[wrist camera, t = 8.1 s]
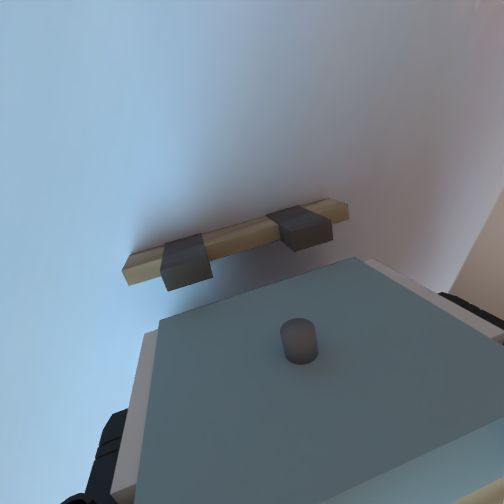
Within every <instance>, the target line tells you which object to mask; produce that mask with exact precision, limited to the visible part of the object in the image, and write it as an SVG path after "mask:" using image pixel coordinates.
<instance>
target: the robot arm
mask: <svg viewBox="0 0 504 504" xmlns="http://www.w3.org/2000/svg"><path fill="white" fill-rule="evenodd" d="M363 262H364V263H366V264H367V265H369V266H371V267H372V268H374V269H376V270H377V271H379V272H381V273H382V274H384V275H386V276H387V277H389V278H391V279H392V280H394V281H396V282H397V283H399V284H401V285H402V286H404V287H406V288H407V289H409V290H411V291H412V292H414V293H416V294H417V295H419V296H421V297H422V298H424V299H426V300H427V301H429V302H431V303H432V304H434V305H436V306H437V307H439V308H441V309H442V310H444V311H446V312H447V313H449V314H451V315H452V316H454V317H456V318H457V319H459V320H461V321H462V322H464V323H466V324H467V325H469V326H471V327H472V328H474V329H476V330H477V331H479V332H481V333H482V334H484V335H486V336H487V337H489V338H491V339H492V340H494V341H496V342H498V343H499V344H501V345H503V346H504V321H503V320H501V319H499V318H497V317H495V316H494V315H492V314H490V313H488V312H486V311H484V310H480V309H479V308H478V307H476V306H474V305H472V304H469V303H468V302H467V301H465V300H463V299H461V298H459V297H457V296H454V295H450V294H447V293H444V292H441V293H438V294H437V293H435V292H433V291H431V290H429V289H428V288H426V287H424V286H422V285H420V284H419V283H417V282H415V281H413V280H411V279H409V278H408V277H406V276H404V275H402V274H400V273H399V272H397V271H395V270H393V269H391V268H389V267H388V266H386V265H384V264H382V263H380V262H379V261H377V260H375V259H373V258H372V259H369V260H366V261H363ZM157 335H158V329H157V330H154V331H151V332H148V333H145V334H144V338H143V342H142V347H141V352H140V356H139V361H138V366H137V370H136V375H135V380H134V384H133V389H132V394H131V398H130V403H129V408H128V409H125V410H122V411H119V412H117V413H114V414H112V416H111V417H110V419H109V421H108V422H107V424H106V426H105V427H104V429H103V432H102V435H101V439H100V442H99V447H98V449H97V453H96V456H95V461H94V463H93V466H92V470H91V473H90V477H89V480H88V484H87V487H86V491H85V493H78V494H76V495H73V496H71V497H69V498H68V499H66V500H65V501H64V502H62V503H61V504H134V499H135V491H136V484H137V477H138V470H139V463H140V456H141V449H142V442H143V435H144V427H145V420H146V413H147V406H148V399H149V392H150V385H151V378H152V371H153V364H154V356H155V349H156V342H157Z"/></svg>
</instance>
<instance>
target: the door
mask: <svg viewBox="0 0 504 504" xmlns="http://www.w3.org/2000/svg"><path fill="white" fill-rule="evenodd" d="M502 477H504V346H503V345H501V344H499V343H498V342H496V341H494V340H492V339H491V338H489V337H487V336H486V335H484V334H482V333H481V332H479V331H477V330H476V329H474V328H472V327H471V326H469V325H467V324H466V323H464V322H462V321H461V320H459V319H457V318H456V317H454V316H452V315H451V314H449V313H447V312H446V311H444V310H442V309H441V308H439V307H437V306H436V305H434V304H432V303H431V302H429V301H427V300H426V299H424V298H422V297H421V296H419V295H417V294H416V293H414V292H412V291H411V290H409V289H407V288H406V287H404V286H402V285H401V284H399V283H397V282H396V281H394V280H392V279H391V278H389V277H387V276H386V275H384V274H382V273H381V272H379V271H377V270H376V269H374V268H372V267H371V266H369V265H367V264H366V263H364V262H362V261H361V260H359V259H357V258H356V257H353V258H349V259H346V260H343V261H340V262H337V263H334V264H331V265H328V266H325V267H322V268H319V269H316V270H313V271H309V272H306V273H303V274H300V275H297V276H294V277H291V278H288V279H285V280H282V281H279V282H276V283H273V284H270V285H266V286H263V287H260V288H257V289H254V290H251V291H248V292H245V293H242V294H239V295H236V296H233V297H230V298H226V299H223V300H220V301H217V302H214V303H211V304H208V305H205V306H202V307H199V308H196V309H193V310H190V311H187V312H183V313H180V314H177V315H174V316H171V317H168V318H165V319H162V320H160V321H159V328H158V335H157V342H156V349H155V356H154V364H153V371H152V378H151V385H150V392H149V399H148V406H147V413H146V420H145V427H144V435H143V442H142V449H141V456H140V463H139V470H138V477H137V484H136V491H135V499H134V504H451V503H453V502H455V501H457V500H459V499H461V498H463V497H465V496H467V495H469V494H471V493H473V492H475V491H476V490H478V489H480V488H482V487H484V486H486V485H488V484H490V483H492V482H494V481H496V480H498V479H500V478H502Z"/></svg>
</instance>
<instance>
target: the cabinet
mask: <svg viewBox="0 0 504 504" xmlns="http://www.w3.org/2000/svg"><path fill="white" fill-rule="evenodd" d="M348 219H349V214H348V204H346V203H342V202H339V201H336V200H332V199H329V198H328V199H324V200H321V201H317V202H314V203H310V204H307V205H303V206H299V205H298V206H295V207H291V208H288V209H284V210H281V211H277V212H274V213H270V214H267V216H265V217H261V218H258V219H254V220H251V221H247V222H244V223H240V224H237V225H233V226H230V227H226V228H223V229H219V230H216V231H213V232H209V233H206V234H202V235H201V233H200V234H197V235H193V236H190V237H186V238H183V239H179V240H176V241H172V242H169V243H165V245H164V246H160V247H157V248H153V249H150V250H146V251H143V252H139V253H136V254H132V255H129V257H128V259H127V261H126V263H125V265H124V267H123V269H122V273H123V275H124V277H125V279H126V281H127V283H128V285H129V286H130V285H133V284H137V283H140V282H143V281H146V280H150V279H153V278H156V277H160V276H162V279H163V281H164V284H165V286H166V288H167V291H172V290H175V289H178V288H181V287H184V286H187V285H191V284H194V283H197V282H200V281H203V280H207V279H210V278H213V275H212V271H211V267H210V263H209V261H212V260H216V259H219V258H222V257H226V256H229V255H232V254H236V253H239V252H242V251H245V250H249V249H252V248H255V247H259V246H262V245H265V244H269V243H272V242H275V241H278V240H281V241H282V242H283V243H284V244H285V245H286V246H287V247H289V248H290V249H291V250H292V251H293V252H296V251H299V250H303V249H306V248H309V247H312V246H315V245H318V244H322V243H325V242H328V241H331V240H333V233H332V224H335V223H338V222H341V221H344V220H348ZM503 500H504V477H502V478H500V479H498V480H496V481H494V482H492V483H490V484H488V485H486V486H484V487H482V488H480V489H478V490H476V491H475V492H473V493H471V494H469V495H467V496H465V497H463V498H461V499H459V500H457V501H455V502H453V503H451V504H502V503H503Z"/></svg>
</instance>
